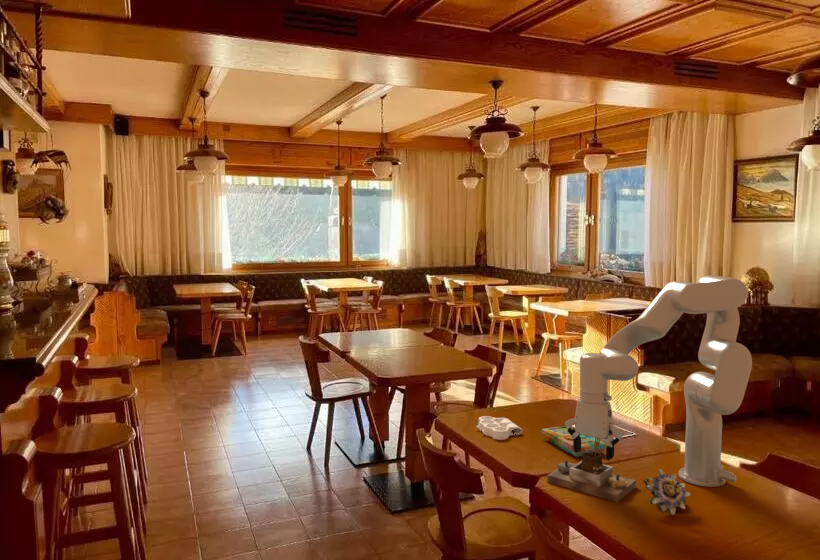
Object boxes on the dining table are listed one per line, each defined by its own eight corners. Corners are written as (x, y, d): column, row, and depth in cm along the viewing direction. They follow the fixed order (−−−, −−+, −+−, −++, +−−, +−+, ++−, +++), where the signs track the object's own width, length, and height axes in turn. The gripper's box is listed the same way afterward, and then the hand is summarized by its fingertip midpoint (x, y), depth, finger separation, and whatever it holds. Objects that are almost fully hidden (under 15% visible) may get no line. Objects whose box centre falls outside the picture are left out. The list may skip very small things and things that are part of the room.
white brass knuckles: (526, 438, 217) (487, 442, 213) (505, 422, 234) (469, 426, 231) (526, 429, 217) (487, 432, 213) (505, 414, 234) (469, 417, 230)
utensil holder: (577, 477, 177) (577, 437, 176) (588, 471, 181) (589, 432, 180) (596, 483, 173) (596, 442, 172) (607, 477, 177) (607, 436, 176)
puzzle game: (575, 445, 196) (541, 426, 215) (574, 459, 197) (541, 439, 216) (605, 441, 200) (570, 422, 219) (605, 455, 201) (570, 435, 219)
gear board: (635, 487, 175) (636, 470, 175) (617, 502, 165) (617, 484, 165) (567, 468, 189) (568, 452, 189) (547, 481, 179) (547, 464, 179)
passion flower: (670, 534, 159) (655, 505, 154) (643, 508, 169) (627, 480, 164) (703, 507, 161) (689, 477, 156) (673, 483, 171) (659, 455, 166)
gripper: (628, 399, 172) (628, 458, 174) (571, 389, 184) (571, 445, 185) (617, 405, 167) (617, 466, 168) (559, 395, 178) (559, 452, 179)
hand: (593, 455), depth 177 cm, fingers open, 9 cm apart
